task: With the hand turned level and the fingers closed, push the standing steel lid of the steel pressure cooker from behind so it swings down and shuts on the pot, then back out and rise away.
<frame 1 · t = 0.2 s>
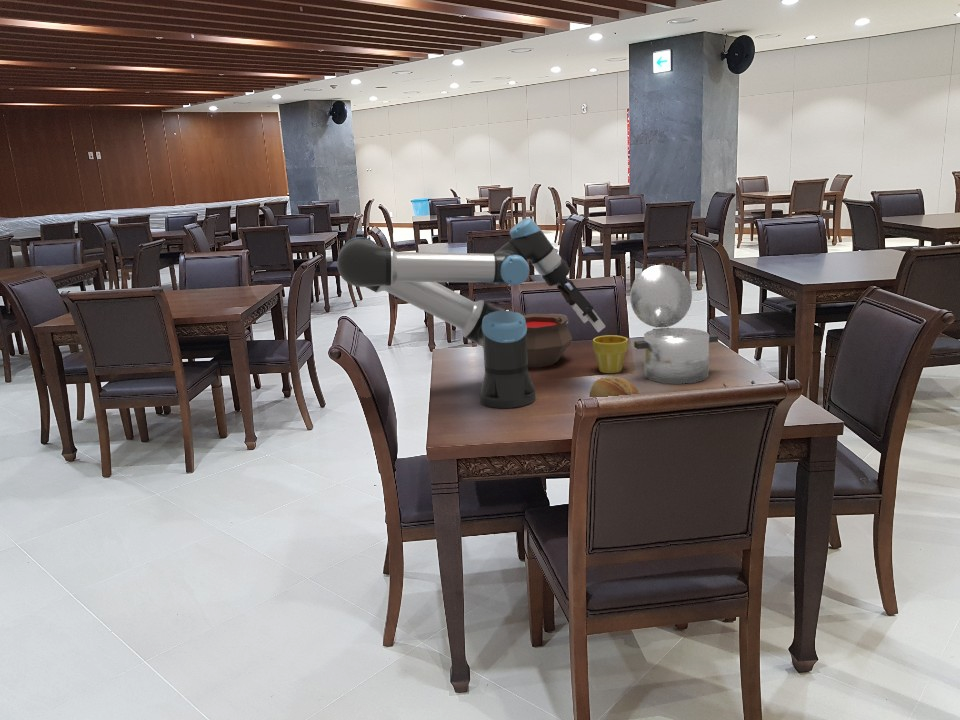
hand: (594, 324, 211), 16 cm above the table, tool tilted 35°, fingers open, 13 cm apart
food container: (555, 343, 257), on the table
cooker lid: (659, 296, 218), point 21 cm above the table, hinge at 100.0°
pressure cooker: (675, 375, 212), on the table
brown clay bowl: (535, 362, 235), on the table
snack package: (748, 404, 185), on the table
bread roll: (614, 408, 187), on the table
plant pot: (610, 371, 220), on the table
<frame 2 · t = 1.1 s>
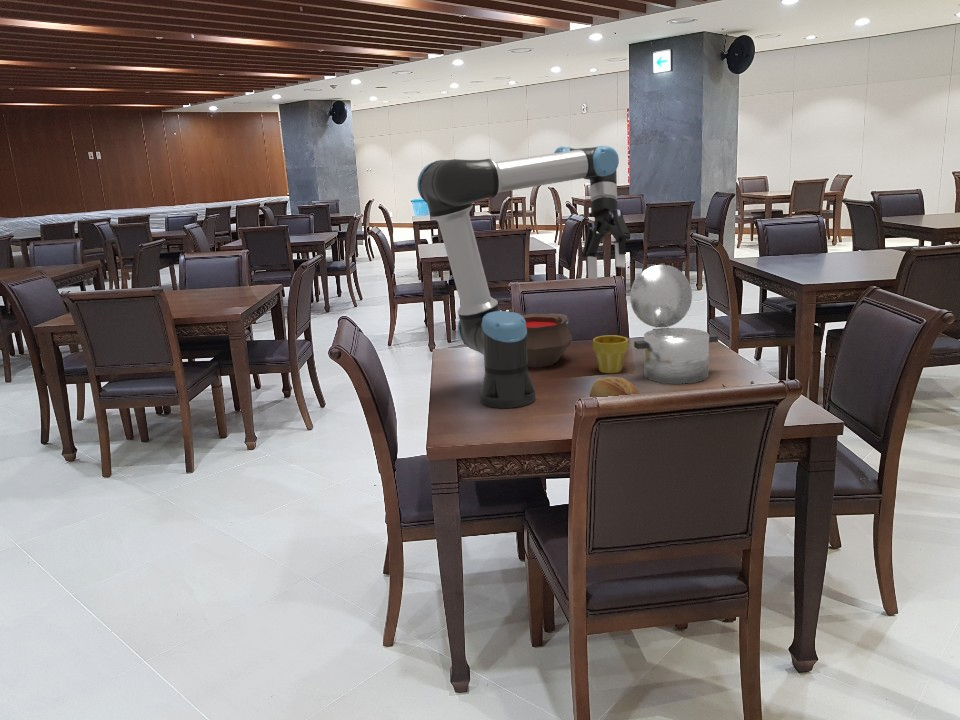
hand: (606, 273, 205), 31 cm above the table, tool tilted 25°, fingers open, 13 cm apart
nothing on the table moved.
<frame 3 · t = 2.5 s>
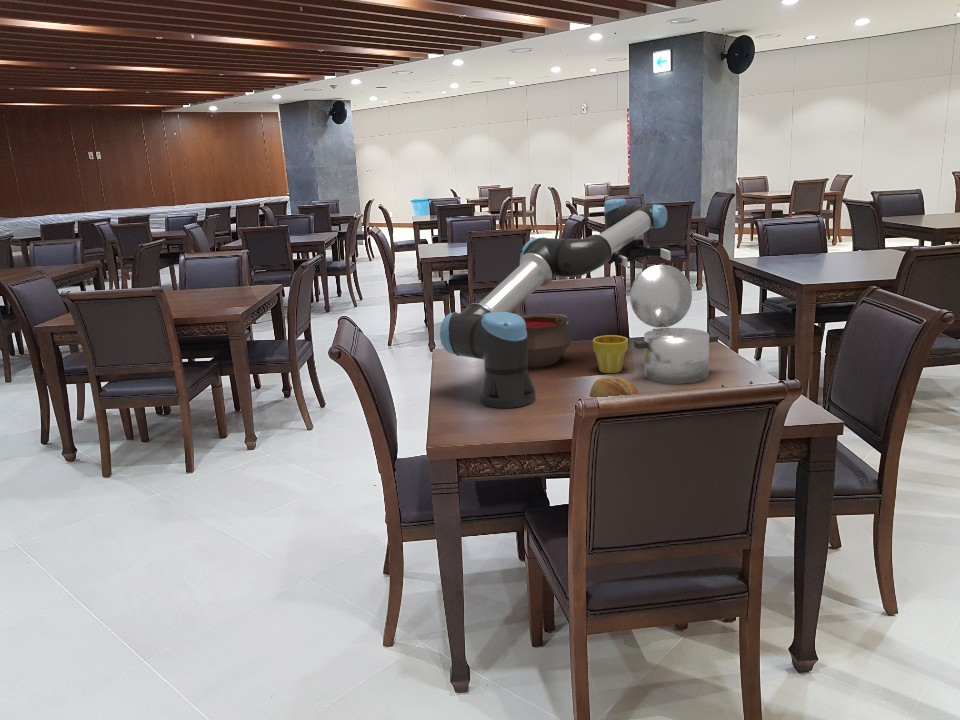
hand: (648, 259, 225), 31 cm above the table, tool horizontal, fingers open, 13 cm apart
nothing on the table moved.
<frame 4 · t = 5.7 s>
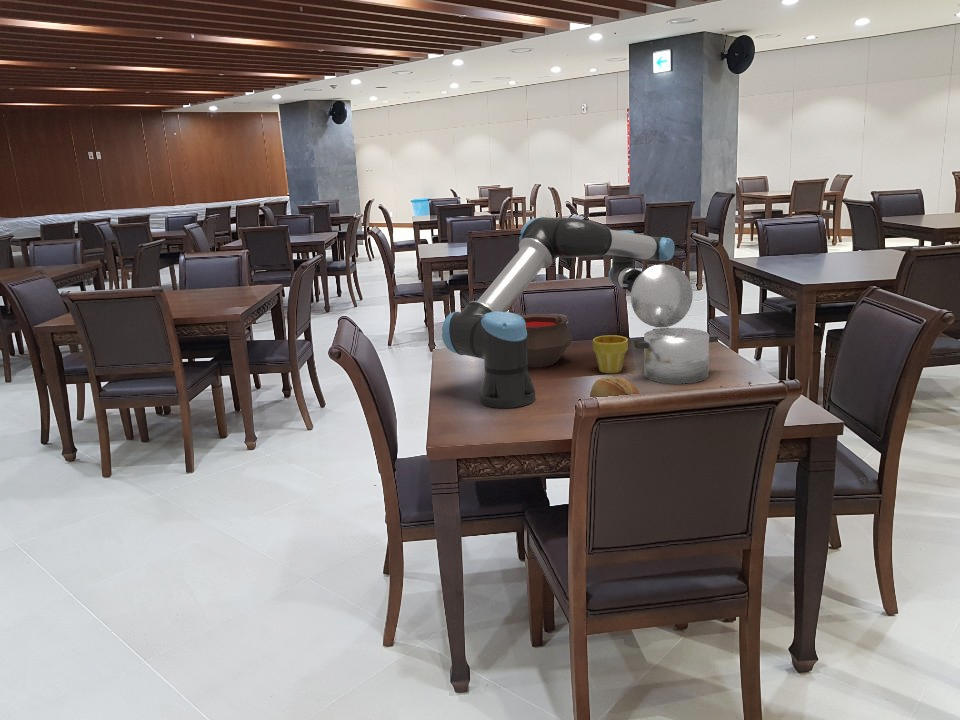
hand: (661, 291, 220), 22 cm above the table, tool horizontal, fingers closed
cooker lid: (660, 295, 218), point 21 cm above the table, hinge at 97.1°, touching gripper
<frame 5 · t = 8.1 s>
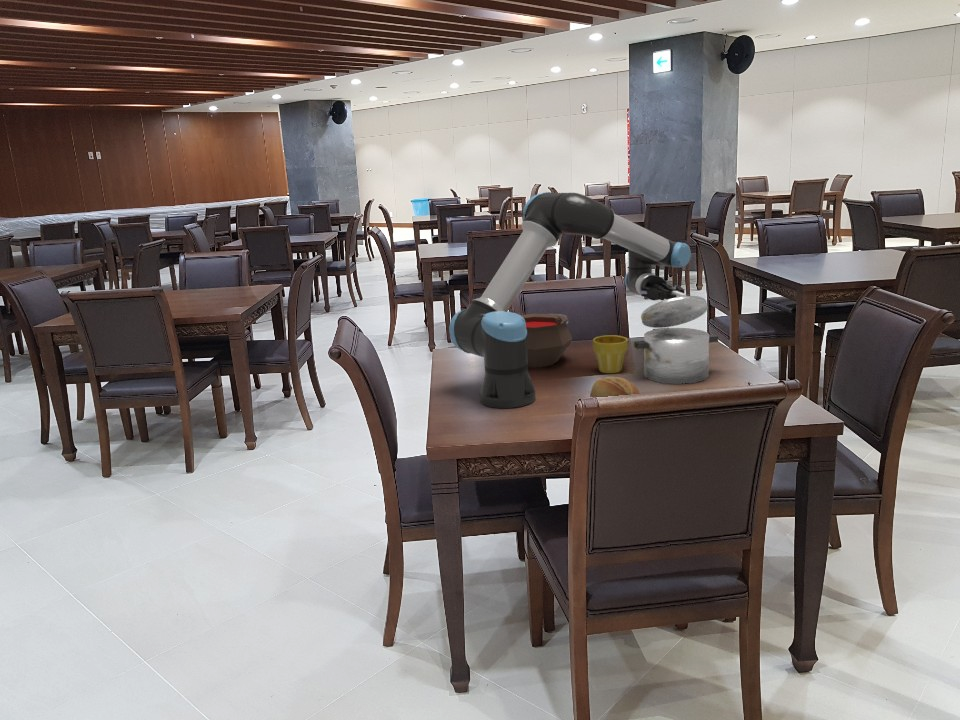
hand: (683, 299, 207), 22 cm above the table, tool horizontal, fingers closed
cooker lid: (673, 309, 209), point 19 cm above the table, hinge at 34.3°
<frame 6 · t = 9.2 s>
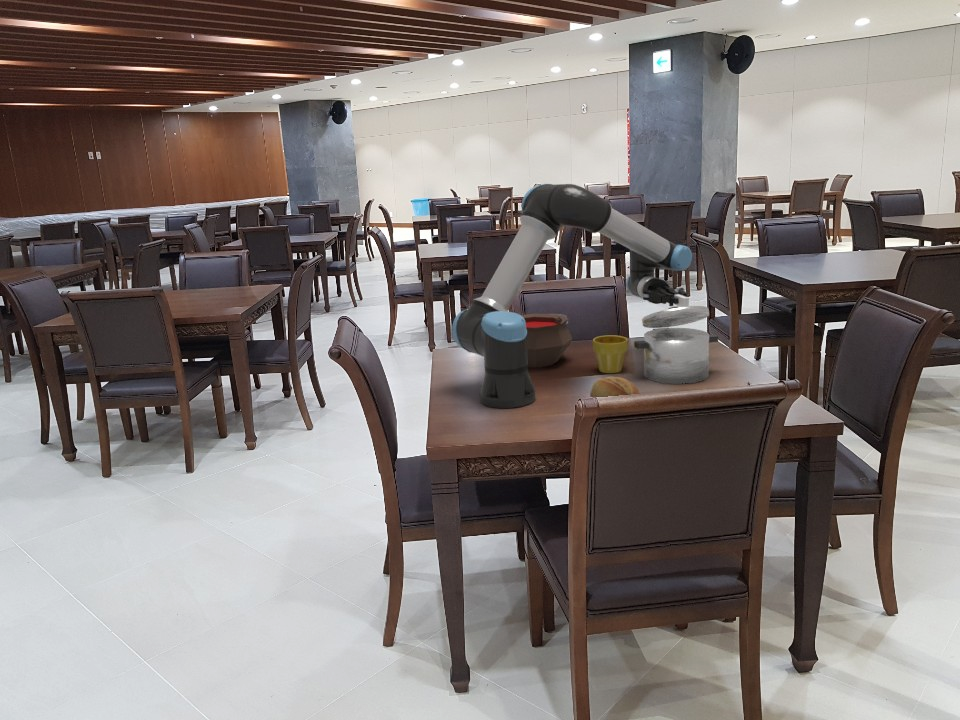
hand: (686, 303, 201), 22 cm above the table, tool horizontal, fingers closed
cooker lid: (674, 314, 208), point 18 cm above the table, hinge at 24.6°
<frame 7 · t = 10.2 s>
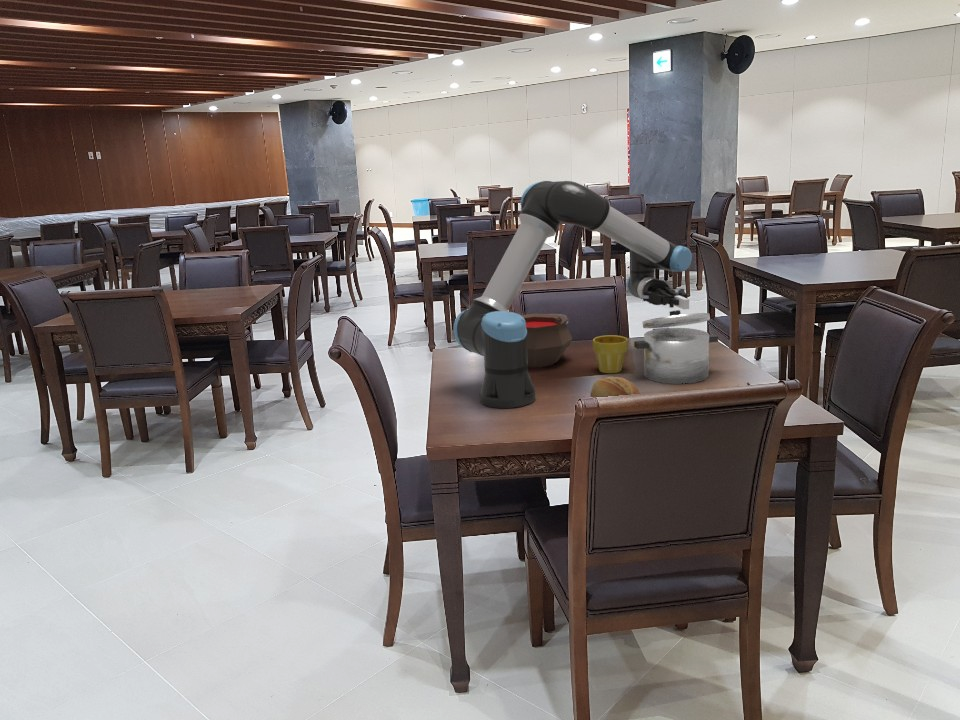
hand: (686, 304, 200), 22 cm above the table, tool horizontal, fingers closed
cooker lid: (675, 317, 208), point 17 cm above the table, hinge at 18.2°
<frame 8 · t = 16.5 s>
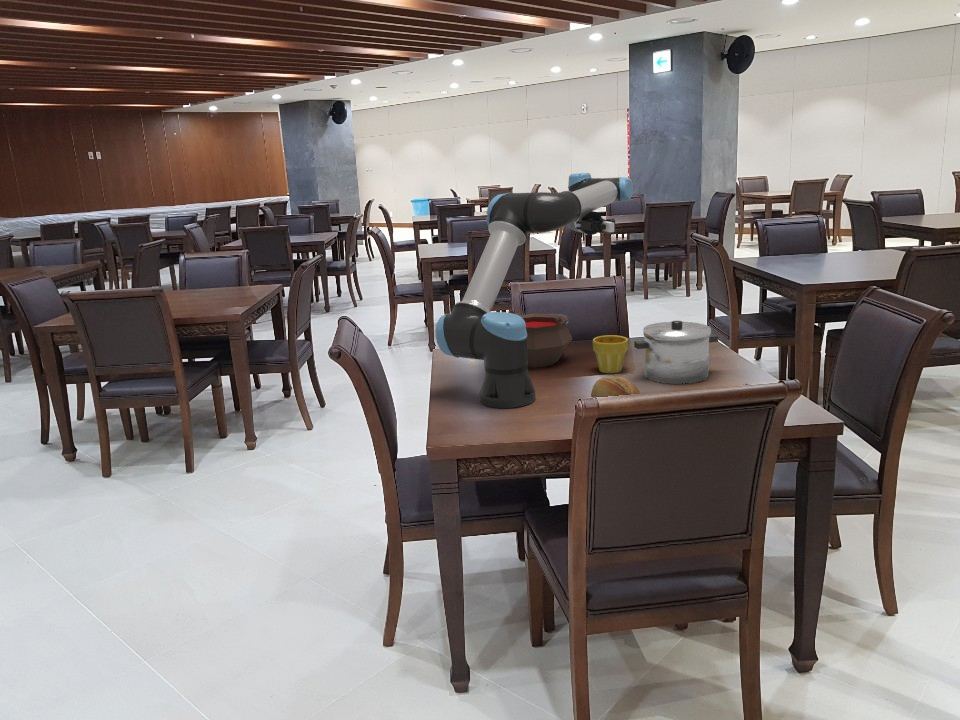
hand: (611, 227, 216), 42 cm above the table, tool horizontal, fingers closed
cooker lid: (676, 327, 208), point 14 cm above the table, hinge at -0.1°
at the end: cooker lid at +0° (first picture: +100°); plant pot moved 0.2 cm from its start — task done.
